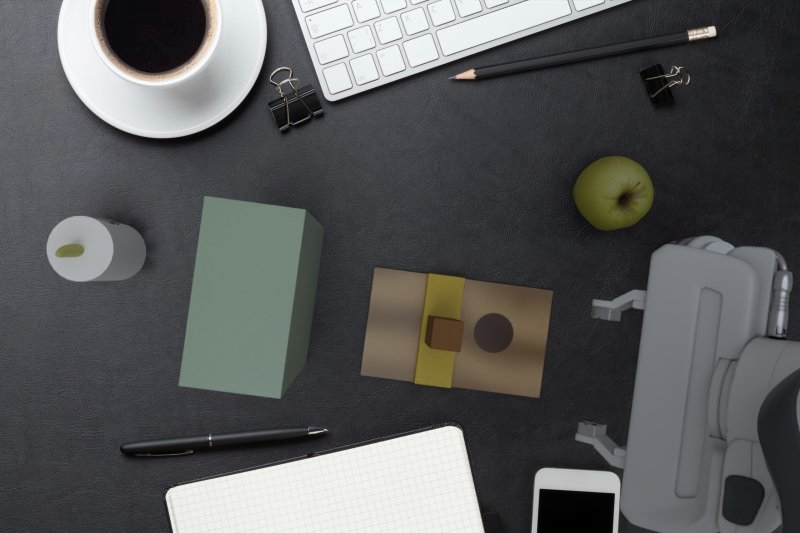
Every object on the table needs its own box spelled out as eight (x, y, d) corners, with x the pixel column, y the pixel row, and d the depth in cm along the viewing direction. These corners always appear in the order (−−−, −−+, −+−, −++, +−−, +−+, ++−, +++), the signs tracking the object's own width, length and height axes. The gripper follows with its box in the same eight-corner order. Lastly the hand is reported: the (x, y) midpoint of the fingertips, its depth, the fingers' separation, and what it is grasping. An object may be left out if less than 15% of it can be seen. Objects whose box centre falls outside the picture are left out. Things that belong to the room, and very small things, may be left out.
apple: (571, 146, 84) (625, 141, 74) (628, 173, 86) (686, 171, 77) (546, 213, 84) (597, 216, 74) (603, 238, 86) (659, 245, 77)
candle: (155, 233, 83) (107, 224, 68) (133, 289, 83) (80, 292, 68) (101, 212, 83) (41, 198, 68) (79, 268, 83) (14, 266, 68)
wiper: (449, 386, 83) (459, 399, 74) (413, 381, 83) (419, 394, 74) (463, 278, 84) (475, 276, 74) (427, 273, 84) (435, 271, 74)
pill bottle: (710, 279, 85) (754, 279, 75) (665, 292, 85) (702, 294, 75) (696, 232, 85) (738, 227, 75) (651, 246, 85) (687, 242, 75)
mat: (538, 397, 84) (539, 398, 84) (360, 374, 84) (360, 375, 83) (552, 290, 84) (553, 290, 84) (374, 266, 84) (374, 266, 83)
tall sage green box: (306, 363, 83) (280, 399, 59) (233, 354, 83) (178, 386, 59) (324, 228, 84) (306, 209, 60) (252, 218, 83) (204, 195, 59)
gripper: (781, 243, 47) (584, 231, 57) (740, 569, 47) (549, 502, 57) (810, 254, 52) (623, 241, 61) (772, 551, 52) (590, 492, 61)
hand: (587, 368), depth 59 cm, fingers open, 8 cm apart
